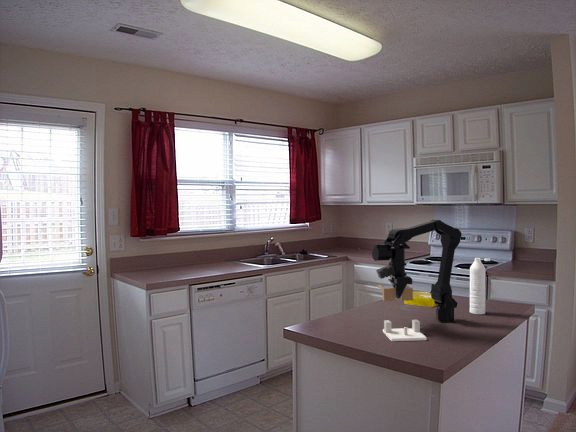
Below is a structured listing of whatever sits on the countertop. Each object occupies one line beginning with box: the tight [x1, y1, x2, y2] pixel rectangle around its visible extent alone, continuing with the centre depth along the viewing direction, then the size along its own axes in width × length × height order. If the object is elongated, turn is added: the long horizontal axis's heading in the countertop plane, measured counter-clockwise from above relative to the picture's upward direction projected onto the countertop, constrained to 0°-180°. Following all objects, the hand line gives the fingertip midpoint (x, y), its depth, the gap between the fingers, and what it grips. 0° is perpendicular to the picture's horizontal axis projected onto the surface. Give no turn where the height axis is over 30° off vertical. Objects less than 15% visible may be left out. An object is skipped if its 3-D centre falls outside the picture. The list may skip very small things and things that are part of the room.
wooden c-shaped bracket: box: [377, 284, 414, 302], centre depth 182 cm, size 10×12×5 cm
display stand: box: [382, 319, 428, 342], centre depth 165 cm, size 12×13×5 cm
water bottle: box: [469, 257, 491, 315], centre depth 195 cm, size 9×6×25 cm
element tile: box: [403, 290, 437, 308], centre depth 218 cm, size 15×15×5 cm
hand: (397, 297), depth 178 cm, fingers closed on wooden c-shaped bracket
